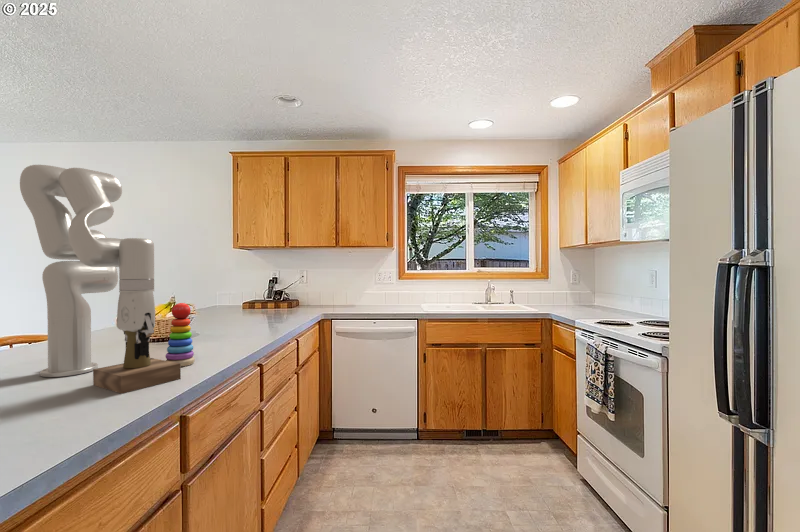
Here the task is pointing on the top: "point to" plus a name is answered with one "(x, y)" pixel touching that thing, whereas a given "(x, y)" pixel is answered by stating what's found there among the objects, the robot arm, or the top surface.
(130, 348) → the cork
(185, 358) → the stacking toy
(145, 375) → the walnut base brick
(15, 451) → the top surface
